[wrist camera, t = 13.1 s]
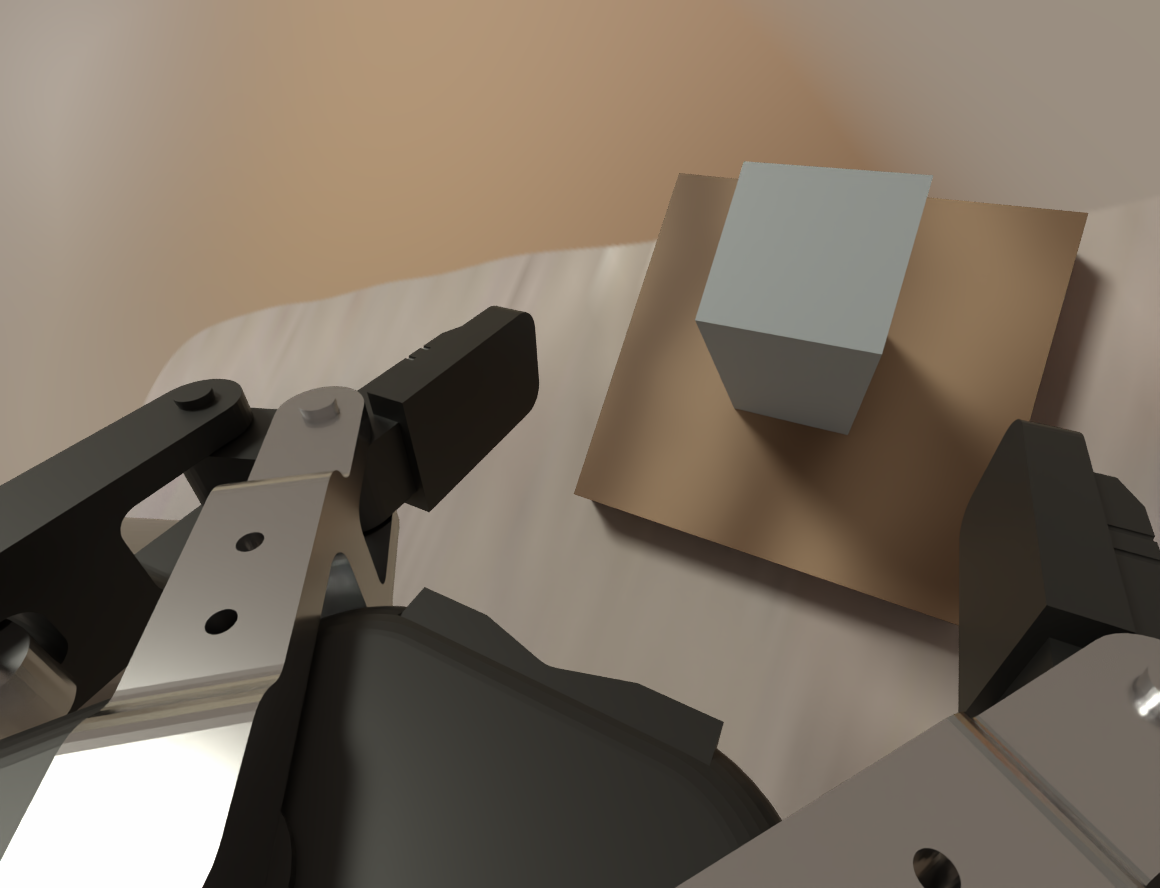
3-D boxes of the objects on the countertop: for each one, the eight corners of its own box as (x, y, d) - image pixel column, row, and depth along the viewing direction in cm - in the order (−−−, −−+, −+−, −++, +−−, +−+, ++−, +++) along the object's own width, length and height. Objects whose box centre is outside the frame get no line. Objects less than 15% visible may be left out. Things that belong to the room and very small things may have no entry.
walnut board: (590, 498, 25) (573, 494, 24) (687, 199, 26) (679, 173, 24) (954, 622, 20) (970, 629, 18) (1062, 243, 21) (1088, 212, 19)
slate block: (734, 408, 22) (695, 320, 14) (764, 308, 22) (743, 161, 14) (847, 435, 20) (881, 354, 12) (878, 327, 21) (933, 175, 12)
